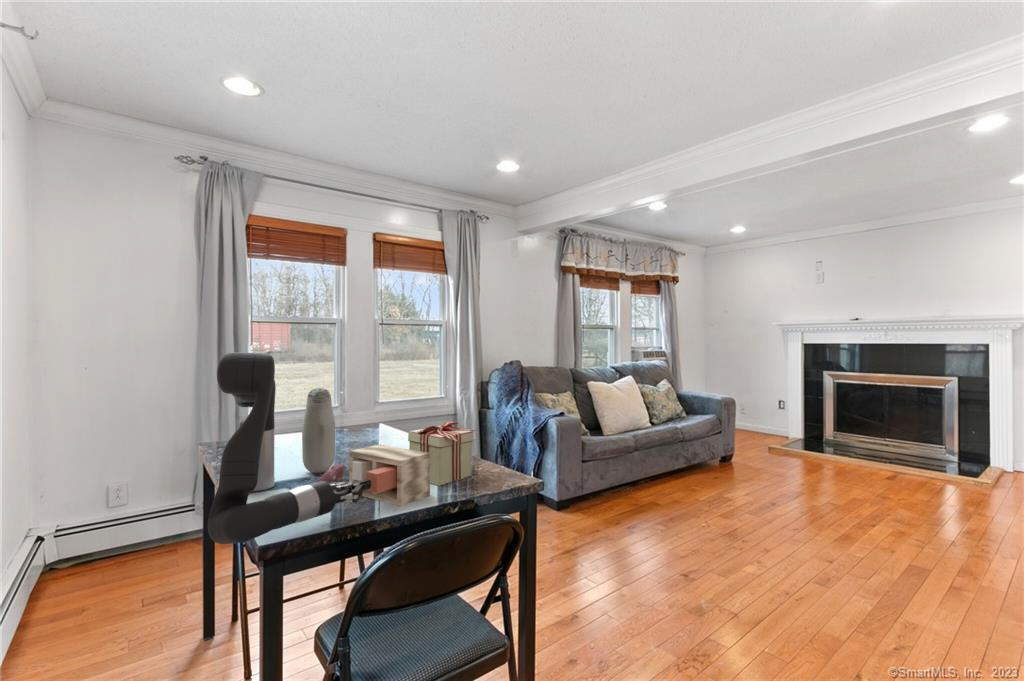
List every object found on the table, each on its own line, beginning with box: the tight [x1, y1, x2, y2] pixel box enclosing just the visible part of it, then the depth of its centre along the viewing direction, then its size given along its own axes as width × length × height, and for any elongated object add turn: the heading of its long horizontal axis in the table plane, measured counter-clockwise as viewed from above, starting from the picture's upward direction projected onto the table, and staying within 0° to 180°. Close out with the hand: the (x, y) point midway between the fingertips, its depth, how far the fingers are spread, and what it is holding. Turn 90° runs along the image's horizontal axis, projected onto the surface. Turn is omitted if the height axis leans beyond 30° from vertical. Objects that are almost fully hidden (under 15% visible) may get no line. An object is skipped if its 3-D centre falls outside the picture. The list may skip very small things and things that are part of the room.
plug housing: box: [348, 443, 431, 507], centre depth 139 cm, size 11×21×12 cm, turn 57°
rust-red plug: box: [367, 465, 397, 493], centre depth 130 cm, size 8×4×5 cm, turn 147°
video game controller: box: [314, 463, 348, 483], centre depth 150 cm, size 10×5×7 cm, turn 169°
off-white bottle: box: [301, 387, 336, 474], centre depth 163 cm, size 10×10×28 cm
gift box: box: [407, 421, 477, 487], centre depth 157 cm, size 17×18×17 cm
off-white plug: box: [352, 459, 372, 481], centre depth 141 cm, size 8×4×5 cm, turn 147°
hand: (368, 483), depth 126 cm, fingers closed
